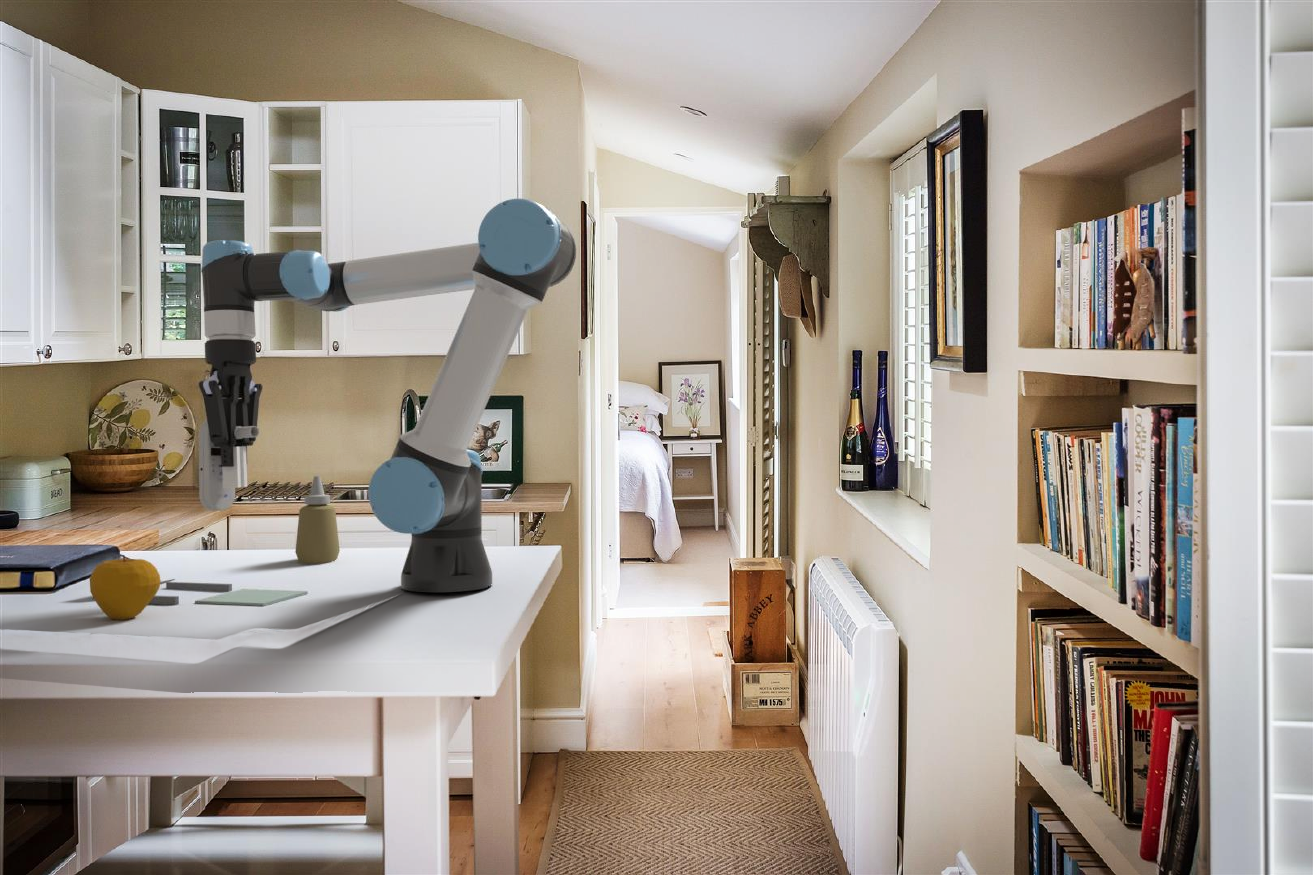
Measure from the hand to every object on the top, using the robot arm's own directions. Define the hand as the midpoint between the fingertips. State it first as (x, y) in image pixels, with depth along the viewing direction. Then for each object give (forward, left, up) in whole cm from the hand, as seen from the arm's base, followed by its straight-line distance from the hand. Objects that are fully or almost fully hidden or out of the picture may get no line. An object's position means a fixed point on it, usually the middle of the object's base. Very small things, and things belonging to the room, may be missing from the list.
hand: (235, 487), depth 162 cm
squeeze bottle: (+5, -32, -18) cm, 37 cm away
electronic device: (0, +1, -4) cm, 4 cm away
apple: (+5, +19, -18) cm, 26 cm away
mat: (-3, 0, -18) cm, 18 cm away
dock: (+11, +1, -18) cm, 21 cm away
